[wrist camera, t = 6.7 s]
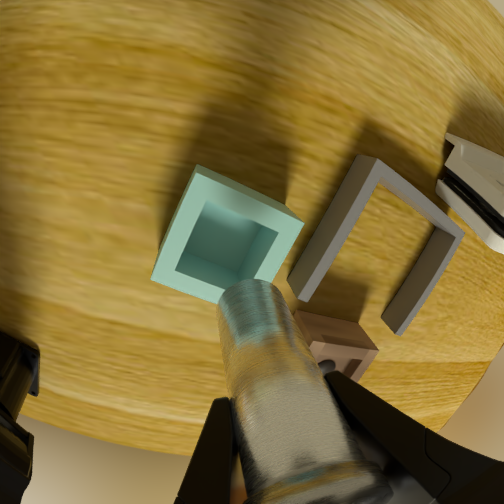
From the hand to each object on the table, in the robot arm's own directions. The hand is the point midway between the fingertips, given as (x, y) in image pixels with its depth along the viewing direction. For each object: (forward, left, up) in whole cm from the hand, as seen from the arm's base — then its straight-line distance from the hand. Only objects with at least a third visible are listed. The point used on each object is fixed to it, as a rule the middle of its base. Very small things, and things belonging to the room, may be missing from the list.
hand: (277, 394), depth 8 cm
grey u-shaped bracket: (+4, -10, -12) cm, 16 cm away
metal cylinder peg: (0, 0, -5) cm, 5 cm away
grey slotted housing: (+14, -20, -13) cm, 28 cm away
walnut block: (-5, -10, -13) cm, 17 cm away
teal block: (+1, +1, -13) cm, 13 cm away
